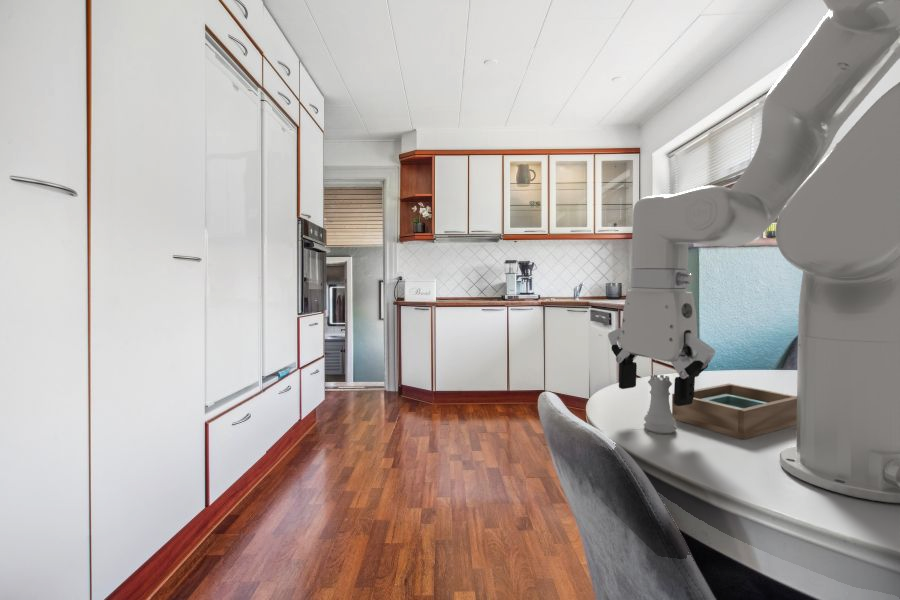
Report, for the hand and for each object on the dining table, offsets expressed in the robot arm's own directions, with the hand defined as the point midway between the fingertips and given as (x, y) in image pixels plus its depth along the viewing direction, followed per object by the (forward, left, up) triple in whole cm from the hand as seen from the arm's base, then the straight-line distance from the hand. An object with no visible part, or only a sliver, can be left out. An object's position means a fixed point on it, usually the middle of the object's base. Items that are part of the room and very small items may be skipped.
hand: (653, 395), depth 66 cm
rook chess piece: (-1, 0, -5) cm, 5 cm away
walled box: (+1, -14, -5) cm, 15 cm away
